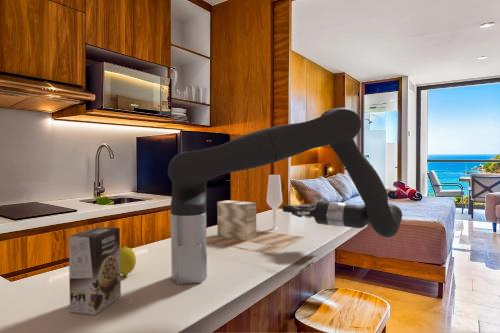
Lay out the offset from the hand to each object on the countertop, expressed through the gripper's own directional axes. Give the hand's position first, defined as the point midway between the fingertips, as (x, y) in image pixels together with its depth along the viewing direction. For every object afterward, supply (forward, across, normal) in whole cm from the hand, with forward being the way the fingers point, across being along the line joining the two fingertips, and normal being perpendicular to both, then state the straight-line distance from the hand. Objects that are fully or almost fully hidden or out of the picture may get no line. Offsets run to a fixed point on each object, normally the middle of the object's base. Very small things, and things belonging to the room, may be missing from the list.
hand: (283, 208), depth 114 cm
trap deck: (+13, 0, +14) cm, 20 cm away
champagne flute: (+15, -20, +14) cm, 29 cm away
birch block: (+20, -1, +13) cm, 24 cm away
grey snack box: (+14, +60, +16) cm, 64 cm away
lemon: (+23, +46, +15) cm, 54 cm away
